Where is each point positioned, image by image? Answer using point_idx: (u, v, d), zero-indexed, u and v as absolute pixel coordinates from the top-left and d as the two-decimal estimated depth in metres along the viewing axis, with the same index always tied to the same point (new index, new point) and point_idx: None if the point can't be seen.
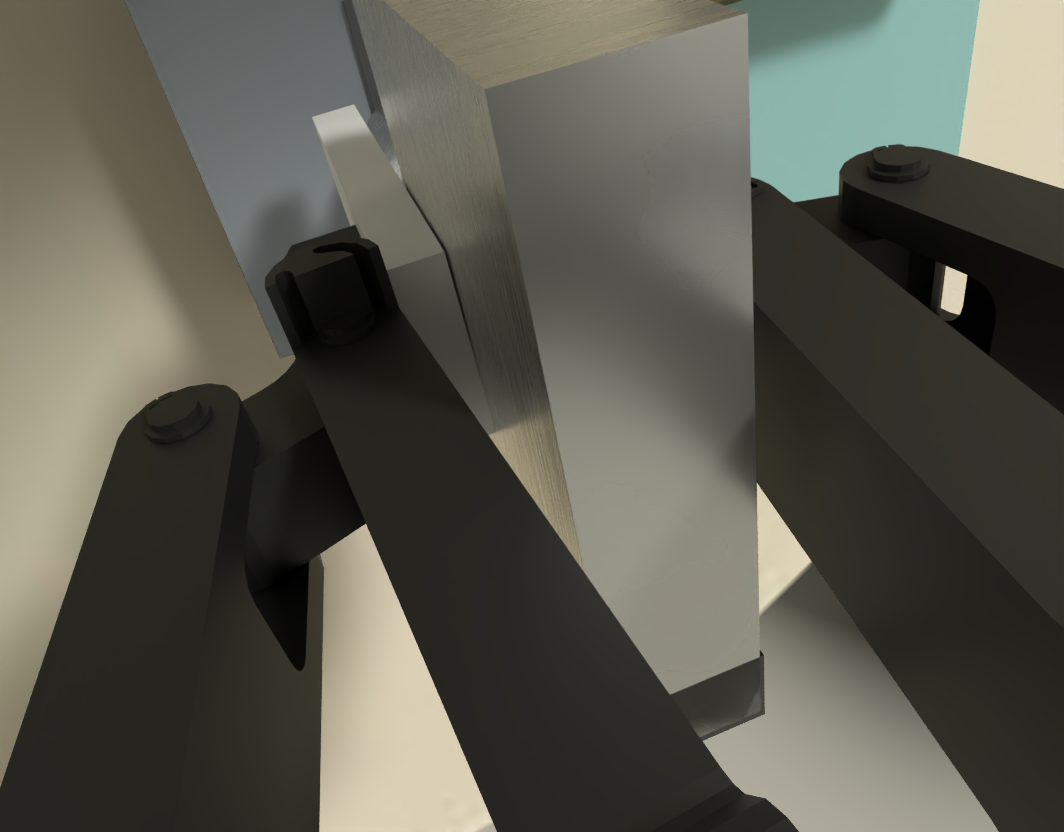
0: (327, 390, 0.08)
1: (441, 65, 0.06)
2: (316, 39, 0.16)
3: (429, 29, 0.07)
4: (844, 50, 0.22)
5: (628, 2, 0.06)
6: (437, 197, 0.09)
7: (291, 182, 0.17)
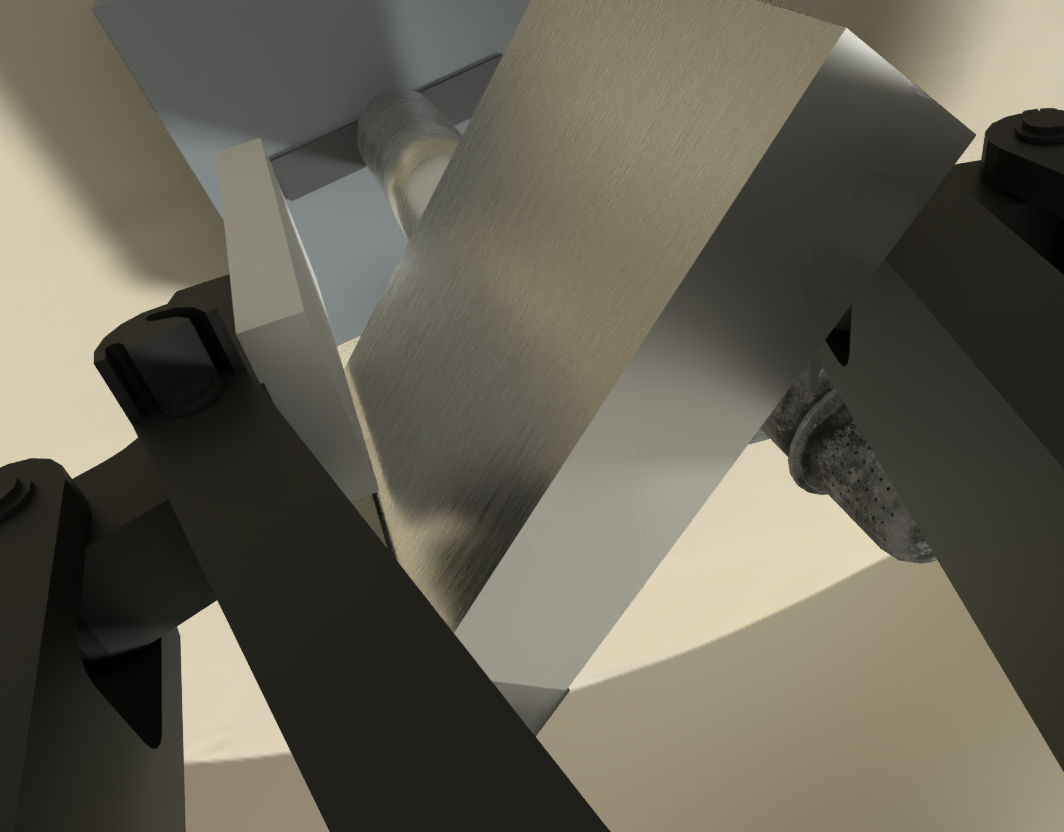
0: (173, 466, 0.08)
1: (750, 13, 0.07)
2: (468, 31, 0.17)
3: None
4: None
5: None
6: (564, 136, 0.09)
7: (327, 14, 0.16)
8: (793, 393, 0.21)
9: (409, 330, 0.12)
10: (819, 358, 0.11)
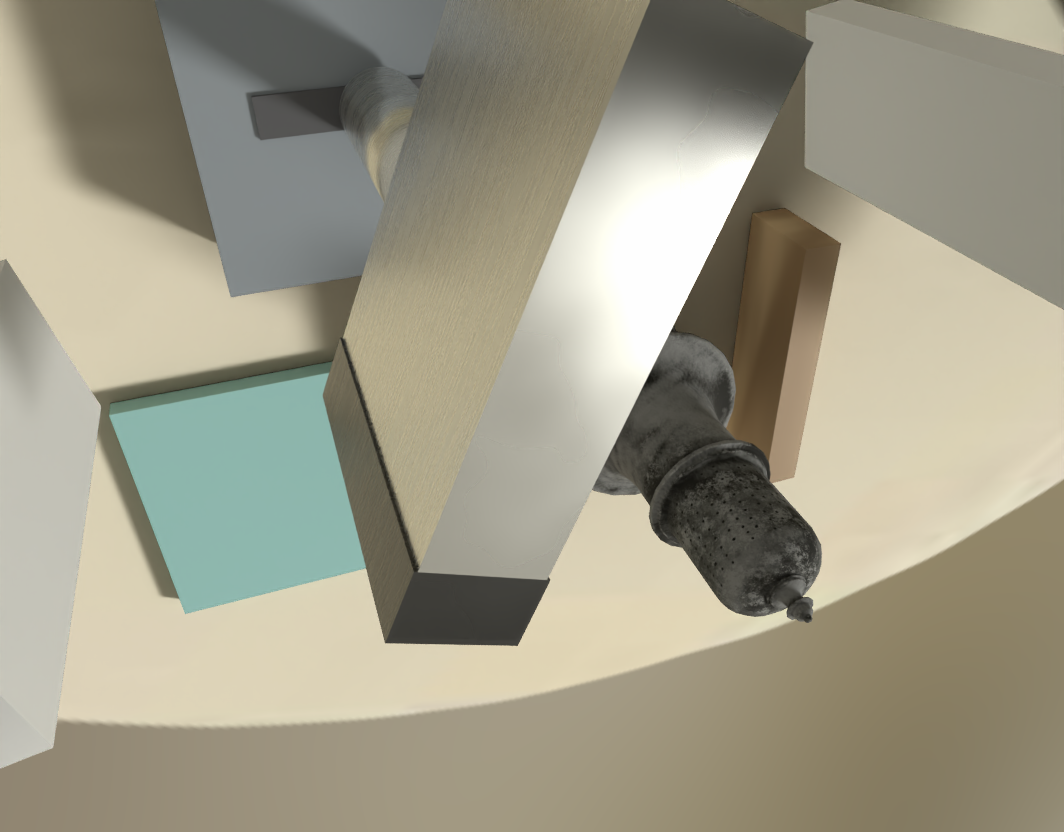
0: None
1: None
2: None
3: None
4: None
5: None
6: (484, 94, 0.11)
7: None
8: (667, 445, 0.23)
9: (388, 287, 0.13)
10: None
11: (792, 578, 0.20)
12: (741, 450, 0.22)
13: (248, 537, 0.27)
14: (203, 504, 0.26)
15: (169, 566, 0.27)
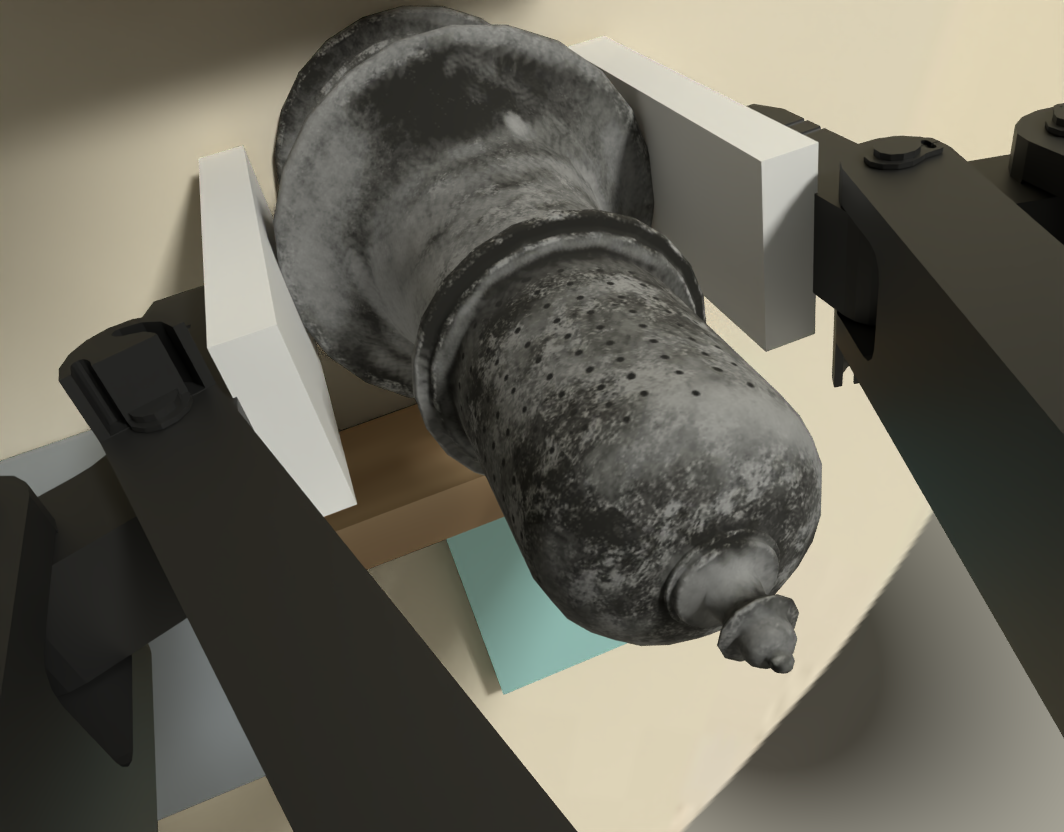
0: (142, 484, 0.07)
1: None
2: None
3: None
4: None
5: None
6: None
7: None
8: None
9: None
10: (844, 353, 0.11)
11: (673, 599, 0.07)
12: (433, 367, 0.09)
13: None
14: None
15: None
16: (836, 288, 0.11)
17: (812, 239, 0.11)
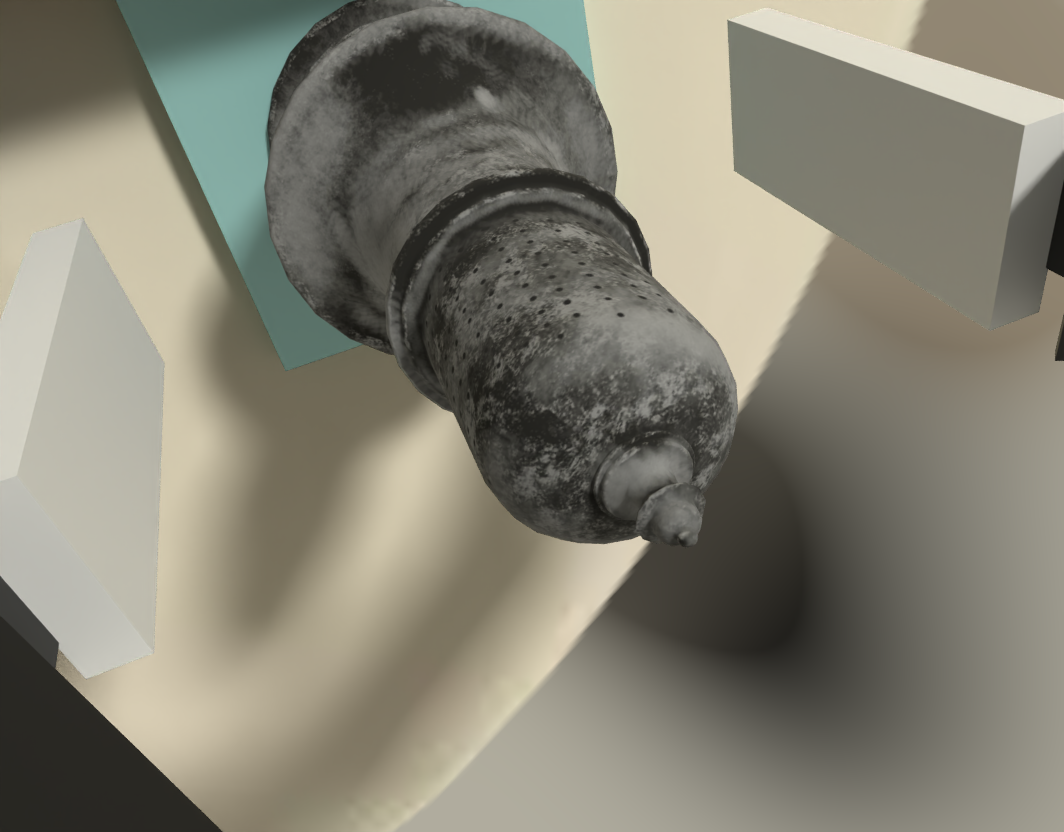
0: None
1: None
2: None
3: None
4: None
5: None
6: None
7: None
8: None
9: None
10: None
11: (600, 492, 0.08)
12: (403, 309, 0.10)
13: None
14: None
15: None
16: None
17: (1055, 210, 0.10)
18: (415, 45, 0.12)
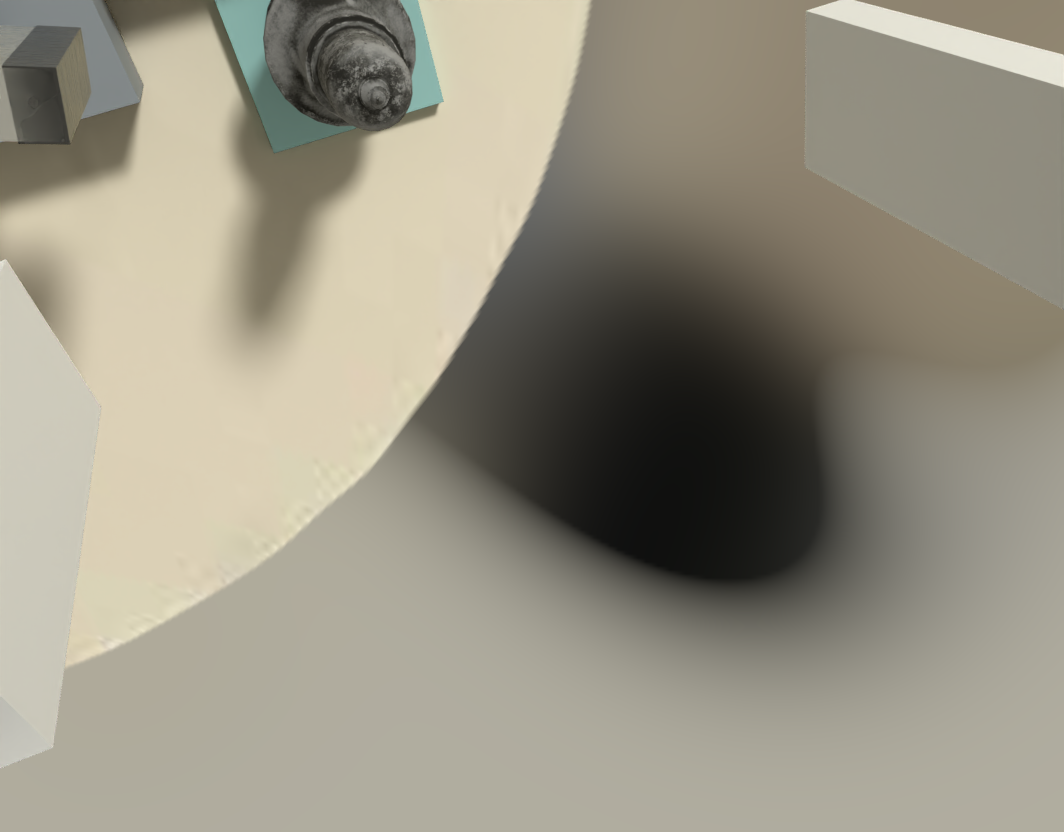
0: None
1: None
2: None
3: None
4: None
5: None
6: None
7: None
8: None
9: None
10: None
11: (360, 95, 0.27)
12: (310, 64, 0.29)
13: None
14: None
15: None
16: None
17: None
18: None
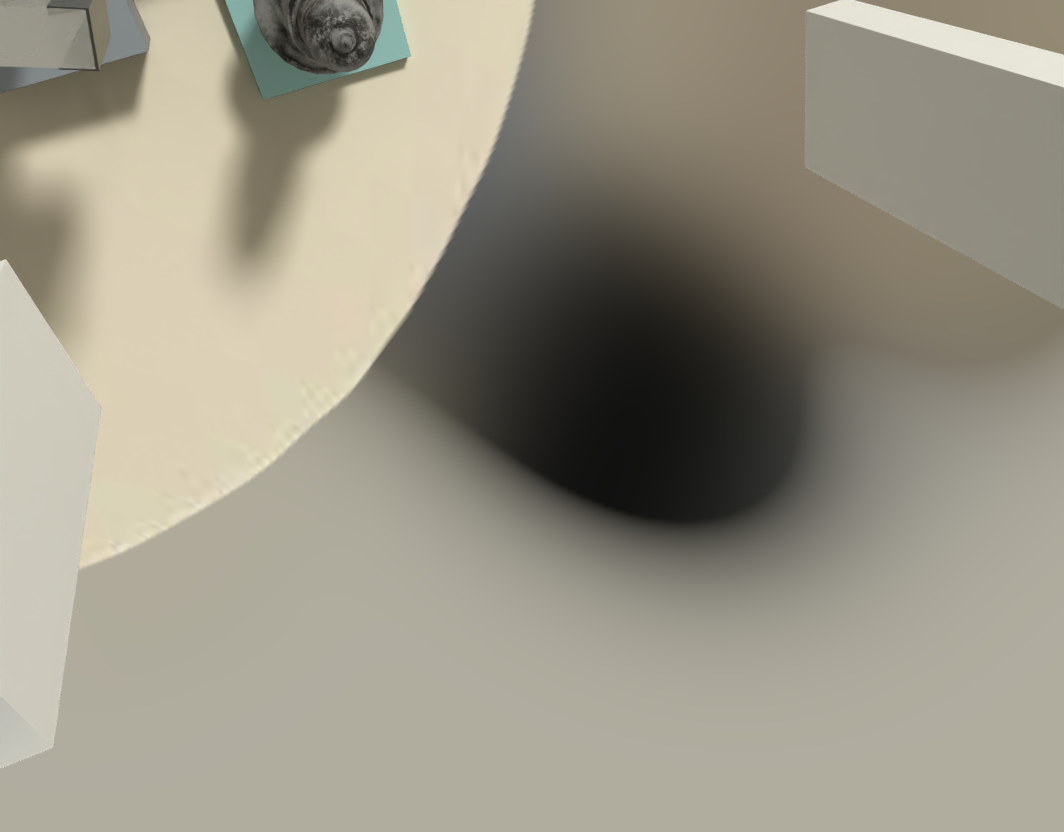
0: None
1: None
2: None
3: None
4: None
5: None
6: None
7: None
8: None
9: None
10: None
11: (331, 41, 0.33)
12: (292, 17, 0.35)
13: None
14: None
15: (371, 66, 0.44)
16: None
17: None
18: None
